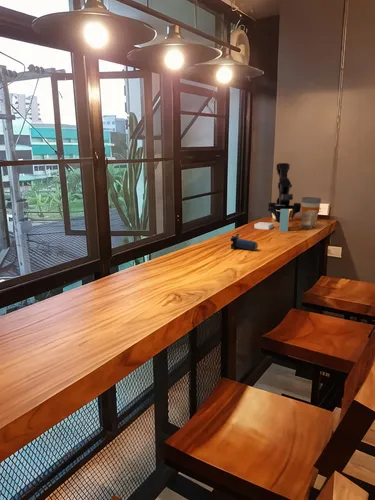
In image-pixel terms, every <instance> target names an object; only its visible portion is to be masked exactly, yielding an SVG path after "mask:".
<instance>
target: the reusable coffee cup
mask: <svg viewBox="0 0 375 500" xmlns="http://www.w3.org/2000/svg"><path fill="white" fill-rule="evenodd" d="M321 203H322V202H321V197H314V196H313V197H312V196H311V197H310V196H308V197H307V196H304V197H302V198H301V213H303V212H306V211H307V210H317V217H316V221H317V220H318V215H319V213H320V209H321Z"/></svg>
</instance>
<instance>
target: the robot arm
mask: <svg viewBox="0 0 375 500" xmlns="http://www.w3.org/2000/svg"><path fill="white" fill-rule="evenodd" d="M275 167H276V168H275V170H276V174H277V175H278V177H279V179H278V182H277V189H278V197H277V199H276V202H272V201H271V202H268V206H267V211H268V212H270V213H272V215H273V216H274V218H275V219H274V220H273V222H277V223H278V222H279V223H280V209H289V210H292V214H291V215H292V216H291V220H293V219H294V217H295V215H296V214H298V213H300V212H301V210H302V203H301V202H294V203H293V205H292V204H291V205H290V203H291V201H293V199H294V196H293V195H294V194H293V193H290V191H291V190H290V189H291V188H292V187H293V184H292V183H291V181H290V179H289V177H288V173H289V170H290V163H288V162H278V163H277V164H276V165H275Z"/></svg>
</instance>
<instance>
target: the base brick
mask: <svg viewBox="0 0 375 500" xmlns="http://www.w3.org/2000/svg"><path fill="white" fill-rule="evenodd" d="M274 225H275V223H274V222H263V221H262V222H261V221H259V222H257V223H254V227H253V228H254V229H258V230H272V229H273V228H274Z"/></svg>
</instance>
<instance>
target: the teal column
mask: <svg viewBox="0 0 375 500" xmlns="http://www.w3.org/2000/svg"><path fill="white" fill-rule="evenodd" d="M279 211H280V222H279V230H278V231H279V232H288V231H289V218H290V209H280V210H279Z"/></svg>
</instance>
